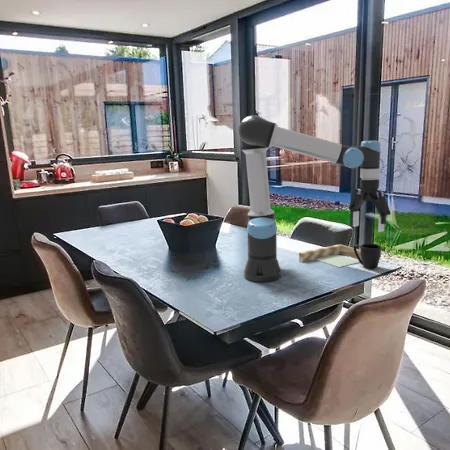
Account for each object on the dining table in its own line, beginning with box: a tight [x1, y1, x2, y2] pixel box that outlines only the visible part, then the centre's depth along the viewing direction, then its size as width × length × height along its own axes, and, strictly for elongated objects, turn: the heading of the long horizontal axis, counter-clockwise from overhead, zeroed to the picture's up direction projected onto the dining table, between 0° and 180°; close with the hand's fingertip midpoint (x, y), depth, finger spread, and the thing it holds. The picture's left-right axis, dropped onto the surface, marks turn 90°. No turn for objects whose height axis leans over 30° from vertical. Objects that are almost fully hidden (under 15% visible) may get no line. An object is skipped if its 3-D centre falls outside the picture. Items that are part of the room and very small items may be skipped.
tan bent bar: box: [298, 243, 361, 263], centre depth 196 cm, size 26×16×4 cm, turn 120°
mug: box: [353, 243, 382, 270], centre depth 185 cm, size 8×12×10 cm
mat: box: [314, 254, 361, 268], centre depth 195 cm, size 13×15×1 cm
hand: (368, 228), depth 183 cm, fingers open, 13 cm apart
